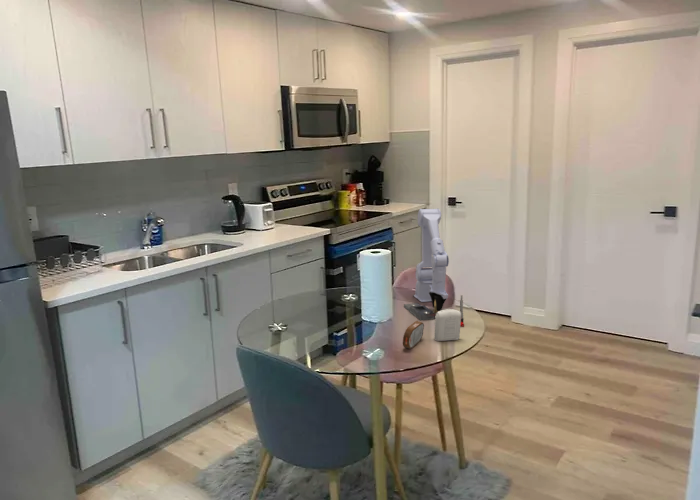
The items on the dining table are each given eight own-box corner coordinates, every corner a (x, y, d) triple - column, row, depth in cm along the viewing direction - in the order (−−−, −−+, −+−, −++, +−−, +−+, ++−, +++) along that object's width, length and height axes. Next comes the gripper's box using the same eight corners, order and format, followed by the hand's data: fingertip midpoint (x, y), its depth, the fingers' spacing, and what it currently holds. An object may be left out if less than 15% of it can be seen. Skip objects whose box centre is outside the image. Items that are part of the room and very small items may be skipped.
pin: (432, 311, 242) (433, 299, 241) (438, 311, 243) (439, 298, 242) (435, 313, 240) (436, 301, 238) (441, 313, 240) (442, 300, 239)
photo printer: (456, 335, 216) (458, 307, 213) (461, 340, 212) (463, 310, 209) (432, 337, 213) (434, 308, 210) (436, 342, 209) (438, 312, 206)
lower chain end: (403, 306, 248) (403, 303, 248) (417, 305, 250) (417, 301, 250) (415, 316, 236) (416, 312, 235) (430, 315, 238) (430, 311, 238)
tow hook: (442, 328, 225) (464, 327, 224) (442, 298, 222) (465, 298, 221) (440, 320, 233) (461, 320, 232) (440, 292, 230) (462, 292, 229)
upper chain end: (409, 311, 242) (410, 305, 241) (423, 310, 244) (424, 304, 243) (420, 320, 231) (420, 314, 231) (435, 318, 234) (435, 312, 233)
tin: (417, 337, 214) (418, 317, 212) (424, 338, 213) (425, 318, 211) (401, 350, 202) (402, 329, 200) (409, 352, 200) (410, 331, 198)
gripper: (423, 276, 243) (422, 304, 246) (438, 285, 230) (436, 315, 233) (437, 275, 245) (435, 303, 249) (453, 284, 232) (451, 313, 235)
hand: (437, 309), depth 241 cm, fingers closed on pin, 3 cm apart
